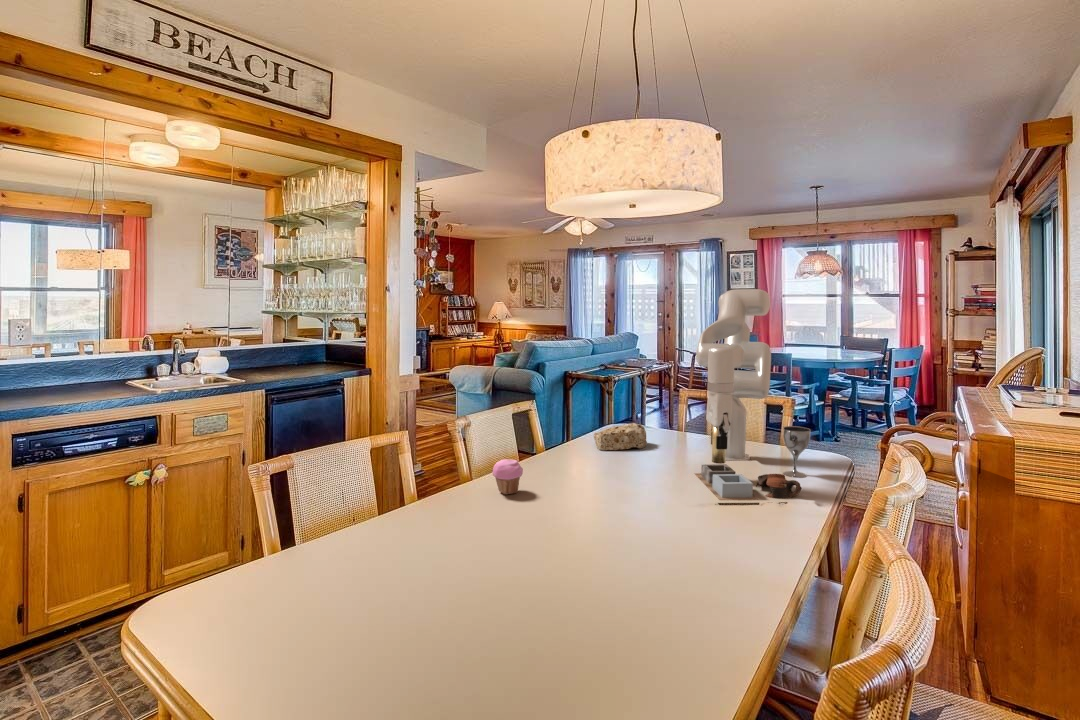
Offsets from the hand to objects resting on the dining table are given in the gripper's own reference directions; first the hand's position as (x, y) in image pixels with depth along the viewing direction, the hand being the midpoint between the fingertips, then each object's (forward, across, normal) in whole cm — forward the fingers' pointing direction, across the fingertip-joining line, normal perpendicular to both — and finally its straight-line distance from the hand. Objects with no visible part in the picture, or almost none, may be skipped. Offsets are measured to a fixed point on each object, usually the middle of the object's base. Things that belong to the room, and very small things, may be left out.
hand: (719, 446), depth 170 cm
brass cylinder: (+5, 0, 0) cm, 5 cm away
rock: (+13, -46, -23) cm, 53 cm away
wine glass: (+12, -8, +28) cm, 31 cm away
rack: (+10, +13, 0) cm, 16 cm away
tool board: (+12, +7, 0) cm, 13 cm away
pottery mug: (+12, +14, +12) cm, 22 cm away
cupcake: (+11, +7, -64) cm, 66 cm away
